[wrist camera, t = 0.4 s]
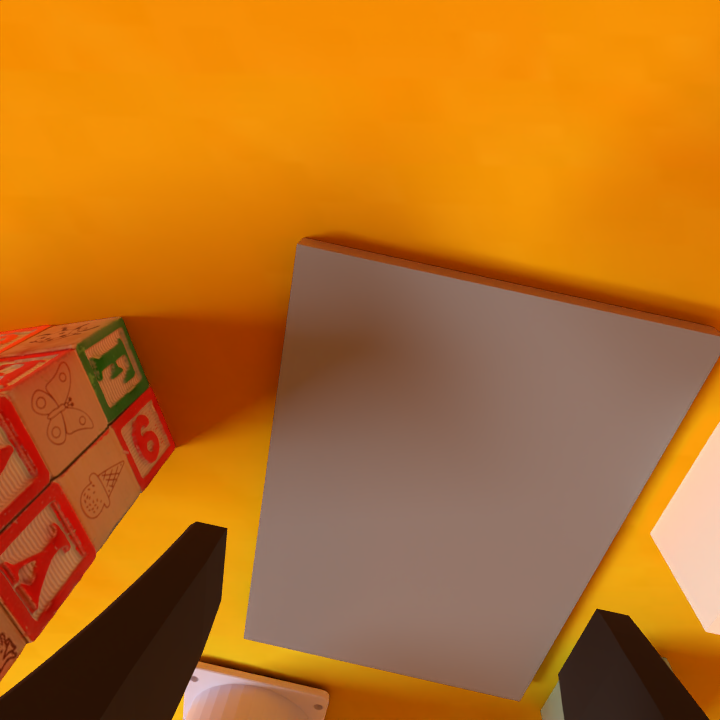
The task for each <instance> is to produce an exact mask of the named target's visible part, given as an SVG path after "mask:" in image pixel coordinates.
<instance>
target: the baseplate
mask: <svg viewBox="0 0 720 720" xmlns="http://www.w3.org/2000/svg"><path fill="white" fill-rule="evenodd" d="M719 356H720V332H719V331H718V330H716V329H715V328H714V327H711V326H706V325H702V324H697V323H693V322H688V321H683V320H679V319H674V318H670V317H665V316H660V315H656V314H651V313H647V312H642V311H638V310H633V309H628V308H624V307H619V306H615V305H610V304H606V303H601V302H596V301H592V300H587V299H583V298H578V297H574V296H569V295H564V294H560V293H555V292H551V291H546V290H542V289H537V288H532V287H528V286H523V285H519V284H514V283H510V282H505V281H500V280H496V279H491V278H487V277H482V276H477V275H473V274H468V273H464V272H459V271H455V270H450V269H445V268H441V267H436V266H432V265H427V264H423V263H418V262H413V261H409V260H404V259H400V258H395V257H391V256H386V255H381V254H377V253H372V252H368V251H363V250H359V249H354V248H349V247H345V246H340V245H336V244H331V243H327V242H322V241H317V240H313V239H308V238H303V239H302V240H301V241H300V242H299V243H298V244H297V249H296V256H295V263H294V271H293V278H292V285H291V293H290V300H289V308H288V315H287V322H286V330H285V337H284V345H283V352H282V359H281V367H280V374H279V381H278V389H277V396H276V404H275V411H274V418H273V426H272V433H271V441H270V448H269V455H268V463H267V470H266V477H265V485H264V492H263V500H262V507H261V514H260V522H259V529H258V537H257V544H256V551H255V559H254V566H253V573H252V581H251V588H250V596H249V603H248V610H247V618H246V625H245V633H244V639H248V640H252V641H257V642H261V643H266V644H270V645H274V646H279V647H283V648H288V649H292V650H296V651H301V652H305V653H309V654H314V655H318V656H323V657H327V658H331V659H336V660H340V661H344V662H349V663H353V664H358V665H362V666H366V667H371V668H375V669H380V670H384V671H388V672H393V673H397V674H401V675H406V676H410V677H415V678H419V679H423V680H428V681H432V682H437V683H441V684H445V685H450V686H454V687H458V688H463V689H467V690H472V691H476V692H480V693H485V694H489V695H493V696H498V697H502V698H507V699H511V700H515V701H520V700H521V698H522V696H523V695H524V693H525V691H526V690H527V688H528V686H529V684H530V683H531V681H532V679H533V677H534V676H535V674H536V672H537V671H538V669H539V667H540V665H541V664H542V662H543V660H544V658H545V657H546V655H547V653H548V652H549V650H550V648H551V646H552V645H553V643H554V641H555V639H556V638H557V636H558V634H559V633H560V631H561V629H562V627H563V626H564V624H565V622H566V620H567V619H568V617H569V615H570V614H571V612H572V610H573V608H574V607H575V605H576V603H577V601H578V600H579V598H580V596H581V594H582V593H583V591H584V589H585V588H586V586H587V584H588V582H589V581H590V579H591V577H592V575H593V574H594V572H595V570H596V569H597V567H598V565H599V563H600V562H601V560H602V558H603V556H604V555H605V553H606V551H607V550H608V548H609V546H610V544H611V543H612V541H613V539H614V537H615V536H616V534H617V532H618V531H619V529H620V527H621V525H622V524H623V522H624V520H625V518H626V517H627V515H628V513H629V512H630V510H631V508H632V506H633V505H634V503H635V501H636V499H637V498H638V496H639V494H640V493H641V491H642V489H643V487H644V486H645V484H646V482H647V480H648V479H649V477H650V475H651V474H652V472H653V470H654V468H655V467H656V465H657V463H658V461H659V460H660V458H661V456H662V455H663V453H664V451H665V449H666V448H667V446H668V444H669V442H670V441H671V439H672V437H673V436H674V434H675V432H676V430H677V429H678V427H679V425H680V423H681V422H682V420H683V418H684V417H685V415H686V413H687V411H688V410H689V408H690V406H691V404H692V403H693V401H694V399H695V398H696V396H697V394H698V392H699V391H700V389H701V387H702V385H703V384H704V382H705V380H706V379H707V377H708V375H709V373H710V372H711V370H712V368H713V366H714V365H715V363H716V361H717V360H718V358H719Z"/></svg>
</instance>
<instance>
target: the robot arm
mask: <svg viewBox="0 0 720 720" xmlns="http://www.w3.org/2000/svg"><path fill="white" fill-rule="evenodd" d="M226 538H227V528H224V527H219V526H215V525H210V524H205V523H201V522H195V523H193V524H191V525H190V526H189V527H188V528H187V529H186V530H185V532H184V533H183V534H182V535H181V536H180V537H179V538H178V539H177V540H176V541H175V542H174V543H173V544H172V545H171V546H170V547H169V548H168V550H167V551H166V552H165V553H164V554H163V555H162V556H161V557H160V558H159V559H158V560H157V561H156V562H155V563H154V564H153V565H152V566H151V567H150V568H149V569H148V570H147V571H146V572H145V573H144V574H143V575H141V576H140V577H139V578H138V579H137V580H136V581H135V582H134V583H133V584H132V585H131V586H130V587H129V588H128V589H127V590H126V591H125V592H123V593H122V594H121V595H120V596H119V597H118V598H117V599H116V600H115V601H114V602H113V603H112V604H111V605H110V606H108V607H107V608H106V609H105V610H104V611H103V612H102V613H101V614H100V615H99V616H98V617H96V618H95V619H94V620H93V621H92V622H91V623H90V624H88V625H87V626H86V627H85V628H84V629H83V630H81V631H80V632H79V633H78V634H77V635H76V636H74V637H73V638H72V639H71V640H70V641H69V642H67V643H66V644H65V645H64V646H63V647H62V648H60V649H59V650H58V651H57V652H56V653H55V654H53V655H52V656H51V657H50V658H49V659H47V660H46V661H45V662H44V663H43V664H41V665H40V666H39V667H38V668H36V669H35V670H34V671H33V672H31V673H30V674H29V675H28V676H27V677H25V678H24V679H23V680H22V681H20V682H19V683H18V684H16V685H15V686H14V687H13V688H11V689H10V690H9V691H8V692H6V693H5V694H4V695H2V696H1V697H0V720H172V718H173V716H174V713H175V711H176V709H177V707H178V705H179V703H180V701H181V698H182V696H183V694H184V692H185V694H184V712H183V720H324V718H325V714H326V711H327V707H328V704H329V698H330V696H329V694H328V692H326V691H324V690H321V689H317V688H313V687H308V686H304V685H300V684H295V683H291V682H286V681H282V680H278V679H273V678H269V677H265V676H260V675H256V674H251V673H247V672H243V671H238V670H234V669H230V668H225V667H221V666H217V665H212V664H208V663H203V662H199V660H200V657H201V655H202V652H203V650H204V647H205V644H206V641H207V639H208V636H209V633H210V630H211V628H212V625H213V622H214V619H215V616H216V613H217V611H218V608H219V605H220V602H221V596H222V585H223V573H224V561H225V550H226ZM558 676H559V684H560V692H561V700H562V708H563V714H564V720H709V718H708V717H707V716H706V714H705V713H704V712H703V711H702V709H701V708H700V707H699V706H698V704H697V703H696V702H695V700H694V699H693V698H692V696H691V695H690V694H689V693H688V691H687V690H686V689H685V687H684V686H683V685H682V684H681V682H680V681H679V680H678V678H677V677H676V676H675V674H674V673H673V672H672V671H671V669H670V668H669V667H668V665H667V664H666V663H665V661H664V660H663V659H662V658H661V656H660V655H659V654H658V652H657V651H656V650H655V648H654V647H653V646H652V645H651V643H650V642H649V641H648V639H647V638H646V637H645V636H644V634H643V633H642V632H641V630H640V629H639V628H638V627H637V625H636V624H635V623H634V622H633V621H632V619H631V618H630V617H629V616H628V615H623V614H619V613H614V612H610V611H605V610H600V609H596V611H595V613H594V614H593V616H592V618H591V619H590V621H589V623H588V624H587V626H586V628H585V630H584V631H583V633H582V635H581V636H580V638H579V640H578V641H577V643H576V645H575V647H574V648H573V650H572V652H571V653H570V655H569V657H568V659H567V660H566V662H565V664H564V665H563V667H562V669H561V670H560V672H559V674H558Z"/></svg>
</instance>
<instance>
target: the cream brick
mask: <svg viewBox="0 0 720 720" xmlns="http://www.w3.org/2000/svg"><path fill="white" fill-rule="evenodd" d="M650 534H651V536H652V538H653V540H654V541H655V543H656V545H657V547H658V548H659V550H660V552H661V554H662V555H663V557H664V559H665V561H666V562H667V564H668V566H669V568H670V570H671V571H672V573H673V575H674V577H675V578H676V580H677V582H678V584H679V585H680V587H681V589H682V591H683V592H684V594H685V596H686V598H687V599H688V601H689V603H690V605H691V606H692V608H693V610H694V612H695V613H696V615H697V617H698V619H699V620H700V622H701V624H702V626H703V627H704V629H705V631H706V632H710V633H714V634H719V635H720V422H719V423H718V425H717V427H716V428H715V430H714V432H713V433H712V435H711V436H710V438H709V440H708V441H707V443H706V444H705V446H704V448H703V449H702V451H701V453H700V454H699V456H698V457H697V459H696V461H695V462H694V464H693V465H692V467H691V469H690V470H689V472H688V473H687V475H686V477H685V478H684V480H683V482H682V483H681V485H680V486H679V488H678V490H677V491H676V493H675V494H674V496H673V498H672V499H671V501H670V503H669V504H668V506H667V507H666V509H665V511H664V512H663V514H662V515H661V517H660V519H659V520H658V522H657V523H656V525H655V527H654V528H653V530H652V532H651V533H650Z"/></svg>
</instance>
